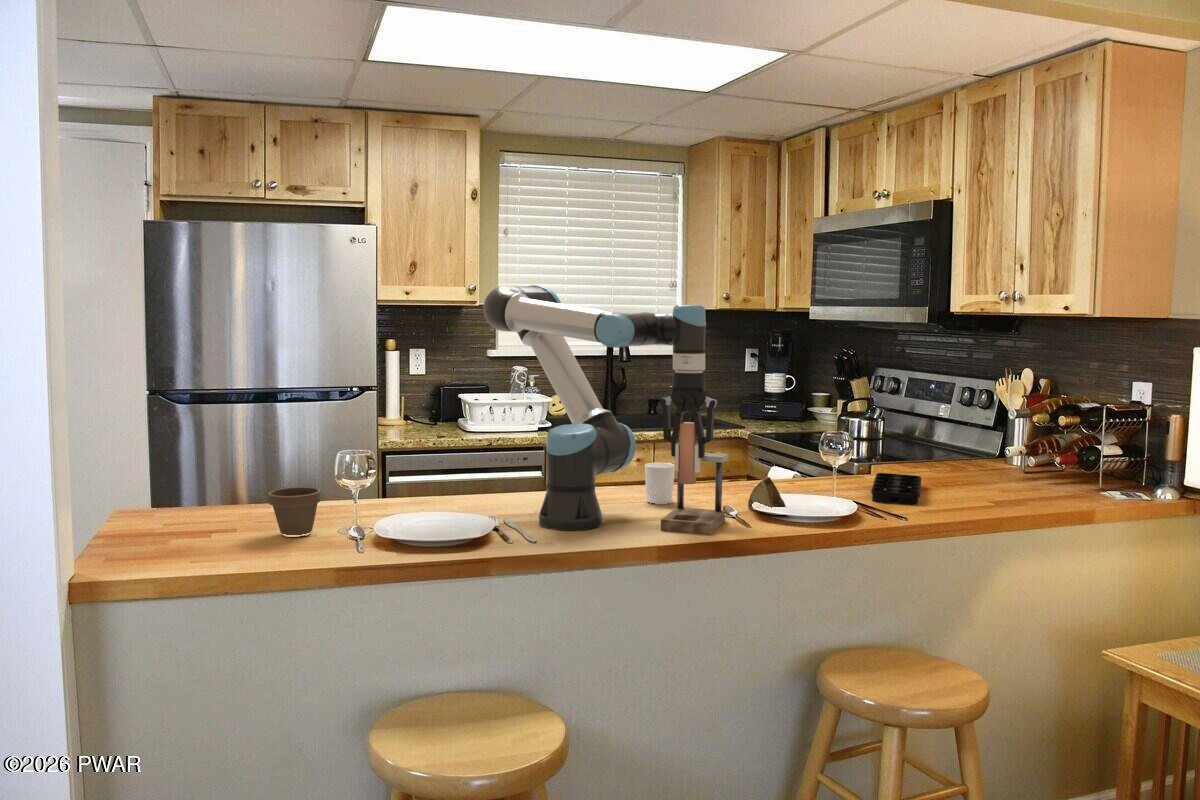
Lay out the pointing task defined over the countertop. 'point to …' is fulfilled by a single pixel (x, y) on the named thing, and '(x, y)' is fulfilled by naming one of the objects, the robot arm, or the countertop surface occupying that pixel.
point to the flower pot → (295, 508)
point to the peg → (687, 453)
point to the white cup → (659, 482)
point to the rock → (766, 495)
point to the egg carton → (896, 488)
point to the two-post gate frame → (718, 483)
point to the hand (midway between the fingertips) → (687, 470)
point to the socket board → (693, 520)
